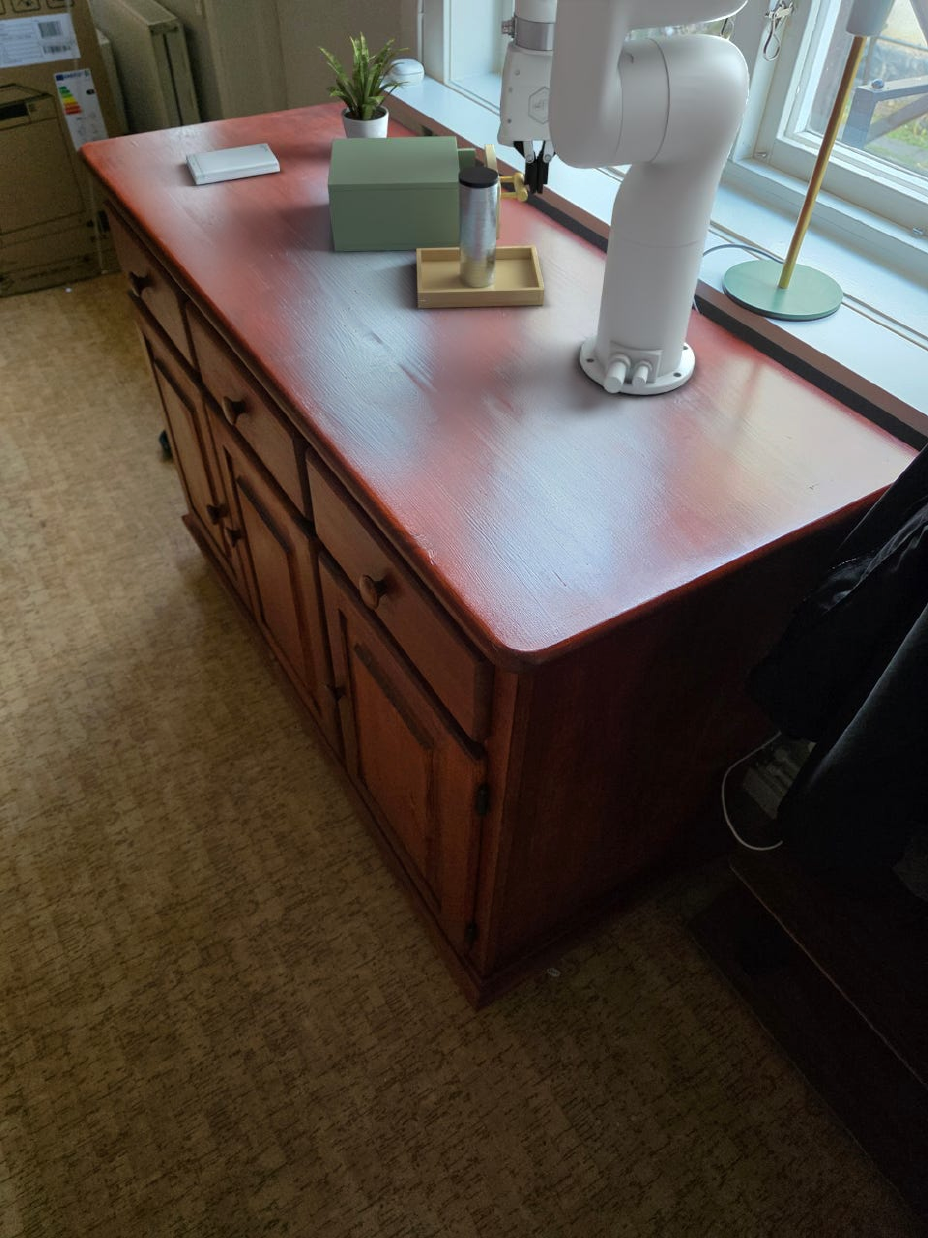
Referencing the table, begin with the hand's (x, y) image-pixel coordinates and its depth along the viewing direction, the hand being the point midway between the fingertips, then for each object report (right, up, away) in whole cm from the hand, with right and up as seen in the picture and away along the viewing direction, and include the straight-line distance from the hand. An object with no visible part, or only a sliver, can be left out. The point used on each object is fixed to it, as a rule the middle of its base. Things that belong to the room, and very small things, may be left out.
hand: (535, 189), depth 119 cm
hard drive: (-44, +10, +15) cm, 48 cm away
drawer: (-11, -3, +2) cm, 12 cm away
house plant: (-23, +13, +17) cm, 32 cm away
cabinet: (-19, -4, +2) cm, 19 cm away
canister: (-8, -15, -8) cm, 19 cm away
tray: (-8, -16, -8) cm, 19 cm away
